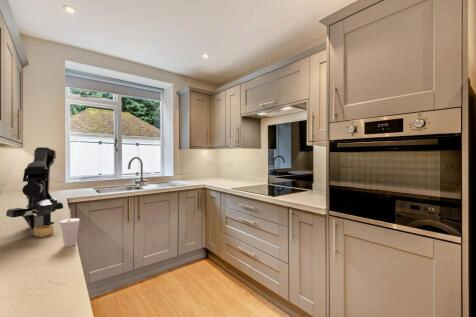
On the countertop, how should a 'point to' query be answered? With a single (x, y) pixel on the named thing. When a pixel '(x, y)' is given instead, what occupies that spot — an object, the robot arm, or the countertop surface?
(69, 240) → the smoothie
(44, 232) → the socket block
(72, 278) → the countertop surface
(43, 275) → the countertop surface
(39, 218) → the plug
